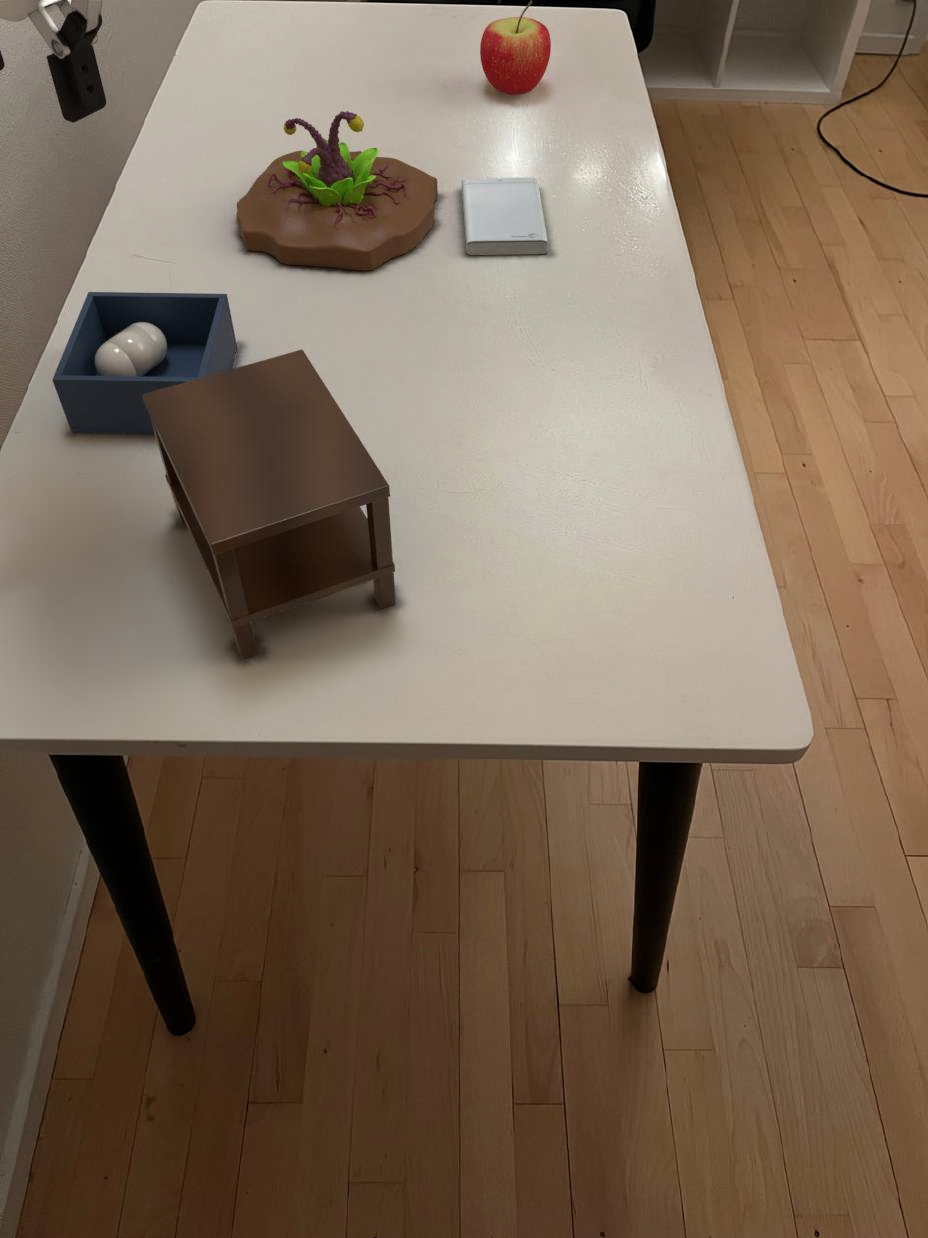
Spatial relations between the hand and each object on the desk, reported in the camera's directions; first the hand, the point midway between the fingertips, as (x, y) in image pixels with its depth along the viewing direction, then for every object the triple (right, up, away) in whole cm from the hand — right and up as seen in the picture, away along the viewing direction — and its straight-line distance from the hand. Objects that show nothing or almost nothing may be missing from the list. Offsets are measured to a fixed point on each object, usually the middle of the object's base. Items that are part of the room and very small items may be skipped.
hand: (34, 93), depth 70 cm
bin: (+1, -14, +24) cm, 28 cm away
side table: (+15, -30, +11) cm, 35 cm away
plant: (+15, +7, +41) cm, 45 cm away
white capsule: (+1, -13, +22) cm, 26 cm away
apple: (+34, +30, +60) cm, 75 cm away
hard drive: (+32, +7, +41) cm, 53 cm away
